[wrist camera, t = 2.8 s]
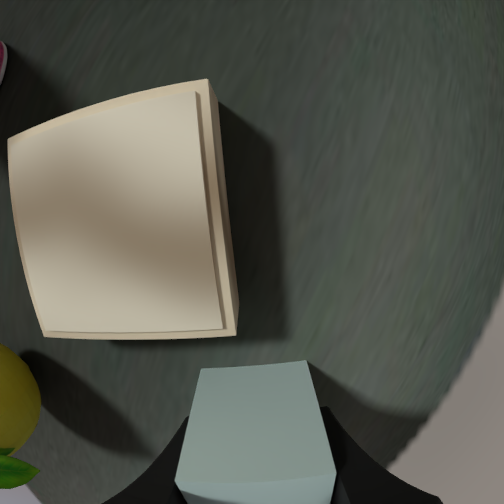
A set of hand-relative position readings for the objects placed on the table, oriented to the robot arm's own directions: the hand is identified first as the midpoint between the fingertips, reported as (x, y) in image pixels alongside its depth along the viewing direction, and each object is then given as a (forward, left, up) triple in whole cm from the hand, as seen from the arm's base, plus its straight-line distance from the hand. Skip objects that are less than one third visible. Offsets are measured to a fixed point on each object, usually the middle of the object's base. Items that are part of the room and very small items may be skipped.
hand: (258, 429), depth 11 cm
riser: (+9, +4, -2) cm, 10 cm away
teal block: (0, 0, -2) cm, 2 cm away
